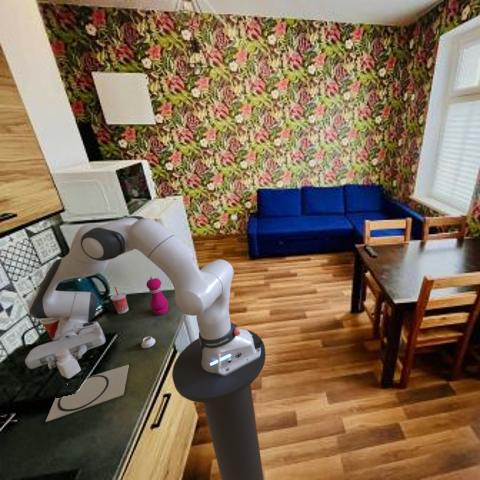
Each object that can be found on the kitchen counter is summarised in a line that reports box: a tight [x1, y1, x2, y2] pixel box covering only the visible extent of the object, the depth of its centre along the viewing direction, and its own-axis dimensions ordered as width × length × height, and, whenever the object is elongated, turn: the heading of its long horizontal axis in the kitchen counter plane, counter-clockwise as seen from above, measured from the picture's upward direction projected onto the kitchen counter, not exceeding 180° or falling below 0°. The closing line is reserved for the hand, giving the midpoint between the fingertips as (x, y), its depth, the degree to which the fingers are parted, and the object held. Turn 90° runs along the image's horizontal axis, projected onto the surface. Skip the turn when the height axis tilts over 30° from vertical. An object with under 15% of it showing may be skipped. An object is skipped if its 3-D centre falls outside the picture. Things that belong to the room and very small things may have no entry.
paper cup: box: [40, 318, 61, 341], centre depth 110 cm, size 8×8×14 cm
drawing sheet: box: [45, 364, 130, 423], centre depth 92 cm, size 20×14×1 cm
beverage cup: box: [109, 286, 130, 315], centre depth 130 cm, size 6×6×14 cm
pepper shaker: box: [55, 348, 82, 379], centre depth 88 cm, size 4×4×10 cm
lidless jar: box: [141, 336, 156, 349], centre depth 111 cm, size 5×3×5 cm
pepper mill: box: [146, 275, 169, 316], centre depth 129 cm, size 7×7×20 cm
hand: (65, 361), depth 87 cm, fingers closed on pepper shaker, 5 cm apart
